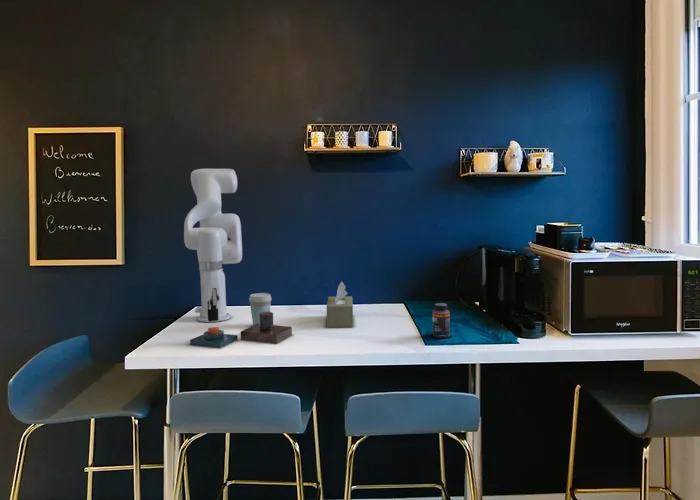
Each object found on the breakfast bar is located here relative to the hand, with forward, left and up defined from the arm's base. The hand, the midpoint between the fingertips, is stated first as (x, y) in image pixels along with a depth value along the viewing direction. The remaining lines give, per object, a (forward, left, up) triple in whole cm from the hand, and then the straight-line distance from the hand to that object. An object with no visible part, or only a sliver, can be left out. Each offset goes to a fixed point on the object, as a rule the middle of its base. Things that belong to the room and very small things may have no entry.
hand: (213, 320), depth 169 cm
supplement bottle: (+71, +32, -8) cm, 78 cm away
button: (0, 0, -5) cm, 5 cm away
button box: (0, 0, -8) cm, 8 cm away
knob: (+14, +11, -5) cm, 18 cm away
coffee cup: (+4, +24, -8) cm, 26 cm away
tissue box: (+30, +40, -8) cm, 51 cm away
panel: (+14, +11, -8) cm, 19 cm away
